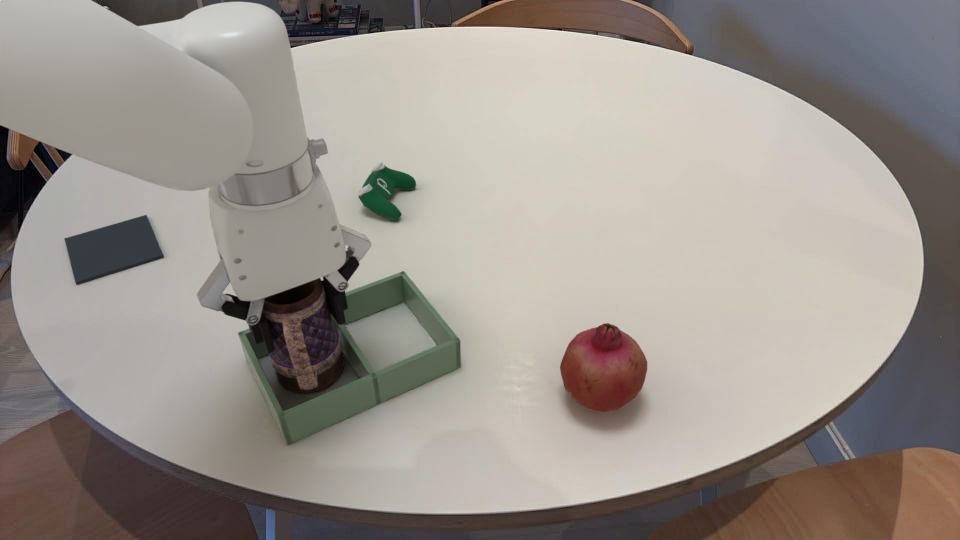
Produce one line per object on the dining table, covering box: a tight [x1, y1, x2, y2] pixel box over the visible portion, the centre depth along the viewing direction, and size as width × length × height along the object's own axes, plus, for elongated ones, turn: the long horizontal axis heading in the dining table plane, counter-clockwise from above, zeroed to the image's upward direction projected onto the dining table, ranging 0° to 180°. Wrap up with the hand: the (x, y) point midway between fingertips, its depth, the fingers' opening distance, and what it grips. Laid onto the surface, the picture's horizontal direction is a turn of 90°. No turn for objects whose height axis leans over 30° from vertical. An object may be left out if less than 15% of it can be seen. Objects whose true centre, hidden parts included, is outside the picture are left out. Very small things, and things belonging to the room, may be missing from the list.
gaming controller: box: [358, 162, 417, 221], centre depth 95 cm, size 9×4×6 cm
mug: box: [262, 278, 345, 394], centre depth 67 cm, size 10×7×12 cm
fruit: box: [559, 322, 648, 414], centre depth 66 cm, size 8×8×10 cm
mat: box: [64, 214, 165, 285], centre depth 88 cm, size 10×10×1 cm
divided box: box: [237, 270, 462, 446], centre depth 72 cm, size 19×13×4 cm
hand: (302, 328), depth 67 cm, fingers closed on mug, 6 cm apart
